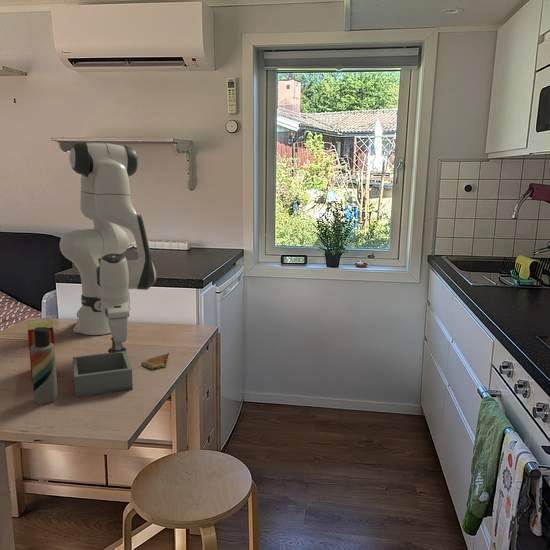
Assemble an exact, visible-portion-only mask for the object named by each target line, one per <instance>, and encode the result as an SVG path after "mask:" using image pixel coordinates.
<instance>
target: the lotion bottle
mask: <svg viewBox="0 0 550 550" xmlns="http://www.w3.org/2000/svg"><path fill="white" fill-rule="evenodd" d="M33 337H34V345H33V346H31V348H30V351H31V363H30V365H31V364H32V376H31V378H32V377H33V382H32V386H33V399H34V402H35V403H36V404H39V405H45V404H51V403H53V402H55V401H57V399H58V393H59V392H58V379H57V377H56V376H57V363H55V362H56V351H55V350H56V347H55V343H54V344H52V343H50V333H49V329H48V328H47V327H37V328H35V329H34V331H33ZM54 347H55V348H54ZM30 351H29V352H30Z"/></svg>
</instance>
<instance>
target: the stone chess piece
mask: <svg viewBox="0 0 550 550" xmlns="http://www.w3.org/2000/svg"><path fill="white" fill-rule="evenodd" d="M110 340H111V347H110V348H109V349H108V350H107V353H113V352H122V351H125V352H126V353H127V350H128V349H127V347H125V346H123V342H122V343H121V350H116V349H115V342H114V340H113V337H112V336H111V338H110Z"/></svg>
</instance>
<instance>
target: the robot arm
mask: <svg viewBox="0 0 550 550" xmlns="http://www.w3.org/2000/svg"><path fill="white" fill-rule="evenodd" d="M69 163H70V166H71V169H72V170H73V171H74V172H75V173H77V174H78V175H81V181H80V206H79V207H80V209H79V210H80V211H81V214H82V215H83V216H84V217H86V218H87V219H89V220H91V221H92V222H93V227H92V228H85V229H84V228H83V229H76V230H72V231H69V232H65V233H63V234H62V236H61V237H60V241H59V250H60V252H61V254H62V255H63V257H64V258H65V259H67V260H68V261H70V262H71V263H73V264H74V266H75V267H76V269H77V270H78V273H79V276H80V282H81V292H82V293H81V295H80V297H81V298H80V301H81V306H80V308H79V309H78V311H76V317H77V322H76V324H75V325H74V327H73V329H72V330H73V331H72V332H73V333H76V334H77V333H78V334H83V335H87V336H88V335H89V336H100V335H107V334H111V338H112V337H113V340H114V342H115V349H116V350H121V343H122V344H123V343H125V342H126V341H127V337H128V326H129V325H128V321H129V320H128V319H129V318H128V317H130V315H131V314H130V312H131V295H130V291H129V290H144V291H148V289H150V288H151V287H153V286H154V284H156V280H157V272H156V271H157V270H156V268H155V265H154V263H153V260H152V257H151V256H152V255H151V251H150V246H149V242H148V241H149V240H148V236H147V230H146V228H145V224H144V220H143V217H142V214H141V212H139V211H137V210H136V209H135V207H134V206H133V203H132V199H131V185H130V180H129V177H130V176H133V175H135V173H136V172H137V170H138V166H139V160H138V154H137V151H136V149H134V148H133V147H131V146H128V145H119V144H114V143H108V142H104V143H103V142H87V143H86V142H85V141H83V142H75V143H74V144H73V145H72V147H71V149H70V152H69ZM121 227H122V228H121ZM123 228H125V229H127V230H128V231H129V232H131V234H132V235H133V237H134V241H135V245H136V251H137V254H138V258H137V259H135V260H133V259H132V260H131V259H129V260H127V257H126V256H125V255H123V253H125V252H127V249H128V247H129V243H130V242H129V241H130V240H129V236H128V234H127V232H125V230H124V229H123ZM99 258H100V262H99Z"/></svg>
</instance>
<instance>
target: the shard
mask: <svg viewBox="0 0 550 550" xmlns="http://www.w3.org/2000/svg"><path fill="white" fill-rule="evenodd" d="M169 355H170V352H168V353H164V354H160V355H157V356H153V357H151V358H150V357H149V358H148V359H145V360H142V362H141V366H144V365H145V366H144V367H146V366H147V367H146V368H148V367H149V368H148V369H150V368H151V369H150V370H155V369H161V368H160V367H164V368H166V367H167V364H168V360H169ZM154 368H155V369H154Z"/></svg>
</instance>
